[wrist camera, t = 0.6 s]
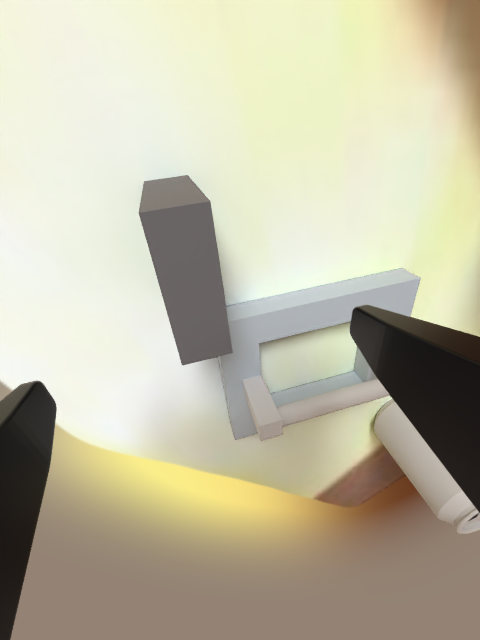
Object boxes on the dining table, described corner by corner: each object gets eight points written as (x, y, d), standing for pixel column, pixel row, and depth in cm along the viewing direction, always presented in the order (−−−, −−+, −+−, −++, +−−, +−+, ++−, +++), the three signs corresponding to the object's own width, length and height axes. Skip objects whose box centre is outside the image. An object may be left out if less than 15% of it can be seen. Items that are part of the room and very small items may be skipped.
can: (376, 396, 32) (473, 510, 23) (433, 382, 34) (548, 483, 24) (363, 437, 36) (441, 549, 27) (414, 423, 38) (506, 524, 28)
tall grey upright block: (187, 175, 16) (210, 201, 10) (207, 283, 20) (232, 353, 14) (144, 181, 16) (138, 212, 10) (172, 290, 20) (182, 365, 13)
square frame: (402, 268, 24) (474, 306, 18) (376, 381, 31) (423, 432, 26) (209, 310, 21) (228, 368, 16) (230, 422, 28) (248, 488, 23)
